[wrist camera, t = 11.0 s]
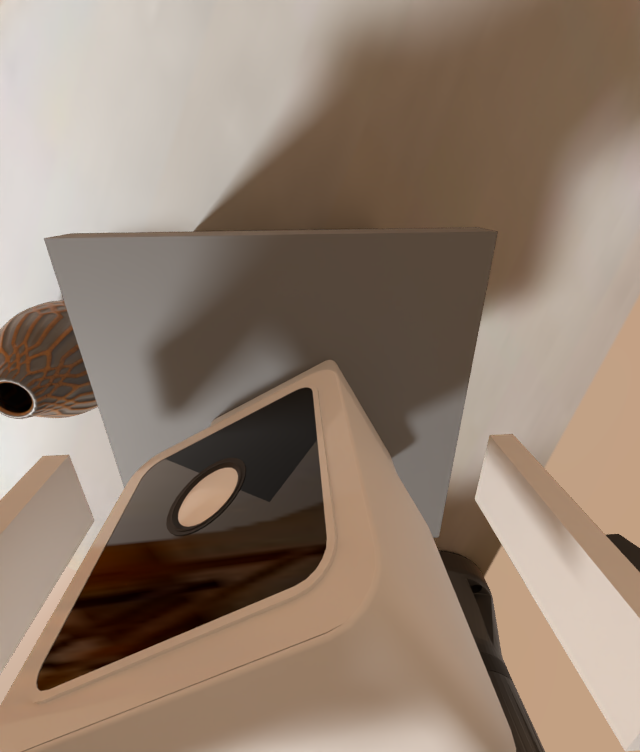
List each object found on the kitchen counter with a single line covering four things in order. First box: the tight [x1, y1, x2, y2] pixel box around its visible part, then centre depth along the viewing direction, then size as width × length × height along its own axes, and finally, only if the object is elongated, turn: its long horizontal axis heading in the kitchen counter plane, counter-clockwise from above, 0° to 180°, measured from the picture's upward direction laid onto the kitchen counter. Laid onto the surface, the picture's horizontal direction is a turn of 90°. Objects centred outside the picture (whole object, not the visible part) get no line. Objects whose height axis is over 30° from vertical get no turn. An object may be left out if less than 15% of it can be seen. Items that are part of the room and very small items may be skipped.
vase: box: [0, 300, 98, 419], centre depth 22 cm, size 7×7×9 cm
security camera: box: [0, 360, 516, 752], centre depth 10 cm, size 6×7×10 cm
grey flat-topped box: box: [44, 227, 498, 538], centre depth 21 cm, size 14×14×14 cm
